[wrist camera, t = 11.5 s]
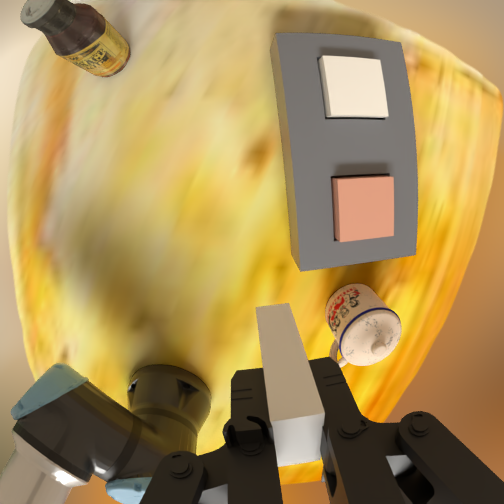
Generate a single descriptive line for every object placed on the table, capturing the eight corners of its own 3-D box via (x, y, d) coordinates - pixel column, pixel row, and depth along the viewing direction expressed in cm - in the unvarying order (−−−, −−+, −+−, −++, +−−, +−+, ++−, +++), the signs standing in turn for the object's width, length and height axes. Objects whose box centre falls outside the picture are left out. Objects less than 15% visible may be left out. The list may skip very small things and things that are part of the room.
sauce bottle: (89, 81, 31) (-2, 46, 12) (97, 42, 29) (17, -10, 10) (131, 76, 32) (51, 26, 13) (138, 37, 30) (73, -32, 11)
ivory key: (321, 119, 32) (331, 115, 28) (313, 65, 30) (322, 55, 26) (373, 119, 32) (388, 116, 28) (366, 67, 30) (379, 59, 26)
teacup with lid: (345, 270, 42) (378, 309, 31) (387, 295, 43) (423, 333, 32) (301, 334, 45) (318, 384, 34) (344, 352, 46) (367, 399, 35)
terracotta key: (329, 233, 36) (340, 242, 32) (326, 176, 34) (337, 179, 30) (379, 227, 36) (393, 235, 32) (378, 174, 34) (393, 176, 30)
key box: (291, 255, 41) (300, 271, 35) (270, 50, 32) (275, 33, 26) (395, 241, 41) (415, 254, 35) (381, 54, 32) (400, 42, 26)
